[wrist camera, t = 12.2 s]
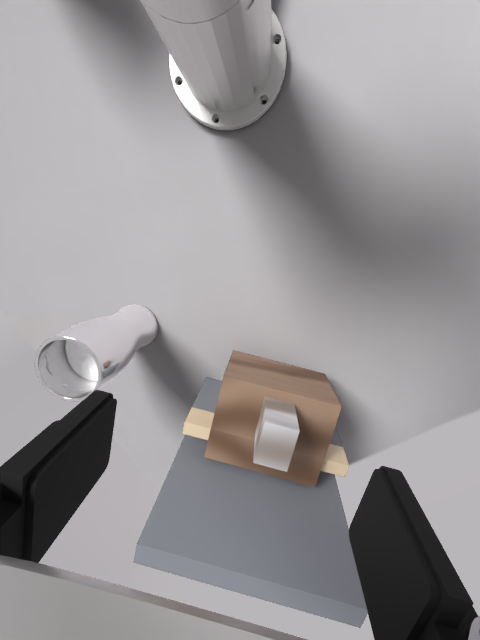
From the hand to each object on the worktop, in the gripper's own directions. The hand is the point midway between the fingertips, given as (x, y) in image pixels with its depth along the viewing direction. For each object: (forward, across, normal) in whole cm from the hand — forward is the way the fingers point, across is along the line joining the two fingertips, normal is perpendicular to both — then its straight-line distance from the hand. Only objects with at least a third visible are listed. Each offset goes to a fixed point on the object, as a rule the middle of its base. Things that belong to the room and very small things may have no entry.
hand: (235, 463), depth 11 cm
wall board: (+30, -4, +16) cm, 34 cm away
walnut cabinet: (+27, -4, +12) cm, 30 cm away
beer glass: (+31, +16, +8) cm, 35 cm away
